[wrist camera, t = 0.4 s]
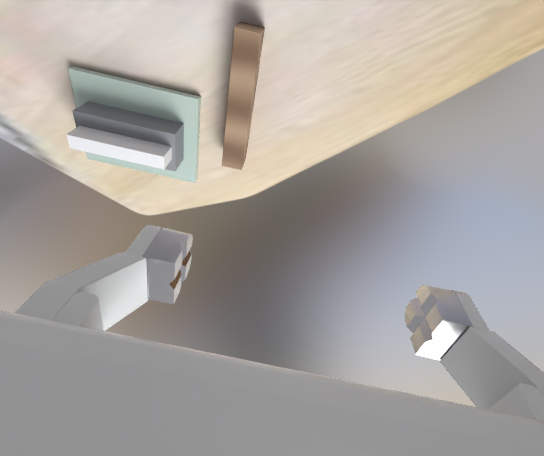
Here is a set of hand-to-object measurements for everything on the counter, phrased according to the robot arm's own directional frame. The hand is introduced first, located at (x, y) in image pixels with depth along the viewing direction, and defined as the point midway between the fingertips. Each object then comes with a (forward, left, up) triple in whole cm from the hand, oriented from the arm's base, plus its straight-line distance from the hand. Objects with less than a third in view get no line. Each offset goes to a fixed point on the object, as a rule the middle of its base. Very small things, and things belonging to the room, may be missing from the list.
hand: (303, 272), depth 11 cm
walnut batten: (+8, -8, -37) cm, 39 cm away
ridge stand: (+16, -23, -37) cm, 46 cm away
